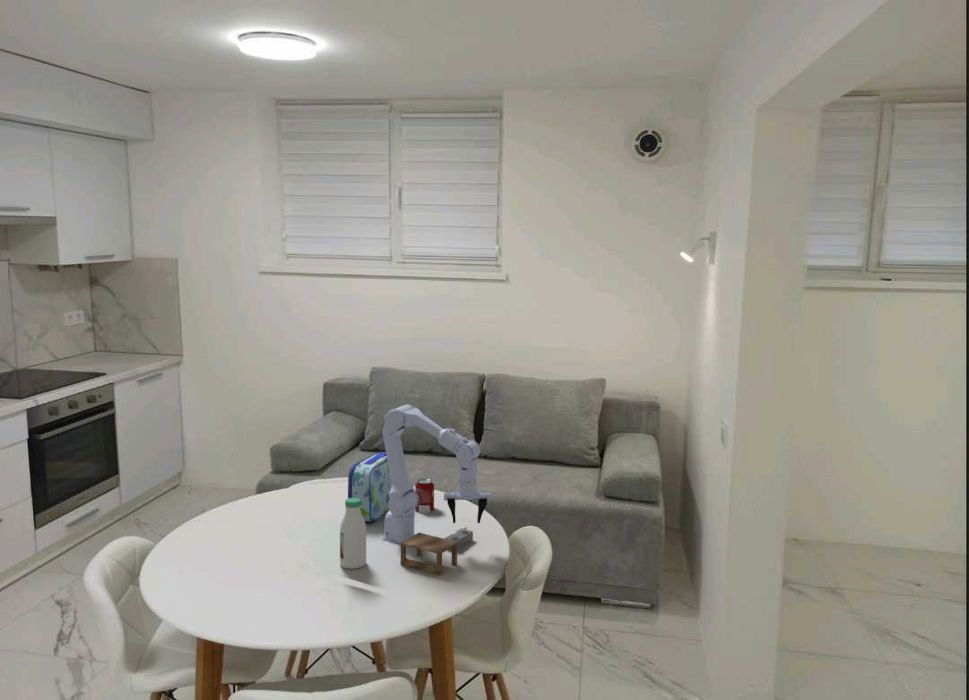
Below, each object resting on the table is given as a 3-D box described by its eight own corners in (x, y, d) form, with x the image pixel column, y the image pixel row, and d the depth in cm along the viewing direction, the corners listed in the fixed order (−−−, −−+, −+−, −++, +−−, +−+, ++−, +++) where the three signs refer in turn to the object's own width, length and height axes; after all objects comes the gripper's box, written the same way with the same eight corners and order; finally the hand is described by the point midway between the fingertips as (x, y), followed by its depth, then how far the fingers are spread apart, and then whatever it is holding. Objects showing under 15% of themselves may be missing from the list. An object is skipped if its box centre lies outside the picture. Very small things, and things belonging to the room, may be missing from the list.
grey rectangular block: (444, 550, 235) (444, 533, 234) (460, 540, 243) (461, 523, 243) (456, 553, 232) (456, 536, 232) (472, 543, 241) (472, 526, 240)
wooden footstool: (400, 564, 223) (400, 542, 222) (418, 554, 231) (418, 532, 230) (439, 575, 216) (440, 552, 215) (456, 564, 224) (457, 541, 223)
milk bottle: (370, 561, 225) (370, 497, 222) (358, 571, 217) (358, 505, 215) (348, 557, 227) (348, 494, 225) (335, 567, 220) (334, 502, 217)
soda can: (430, 516, 264) (431, 484, 262) (412, 515, 265) (412, 482, 264) (436, 510, 270) (436, 478, 269) (418, 508, 272) (418, 477, 270)
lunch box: (375, 500, 280) (375, 446, 278) (401, 503, 277) (402, 448, 275) (343, 523, 255) (343, 464, 253) (372, 527, 253) (372, 467, 250)
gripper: (444, 483, 227) (443, 526, 228) (491, 484, 228) (490, 526, 230) (444, 476, 234) (443, 518, 235) (489, 477, 235) (488, 518, 237)
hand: (466, 521), depth 233 cm, fingers open, 7 cm apart
